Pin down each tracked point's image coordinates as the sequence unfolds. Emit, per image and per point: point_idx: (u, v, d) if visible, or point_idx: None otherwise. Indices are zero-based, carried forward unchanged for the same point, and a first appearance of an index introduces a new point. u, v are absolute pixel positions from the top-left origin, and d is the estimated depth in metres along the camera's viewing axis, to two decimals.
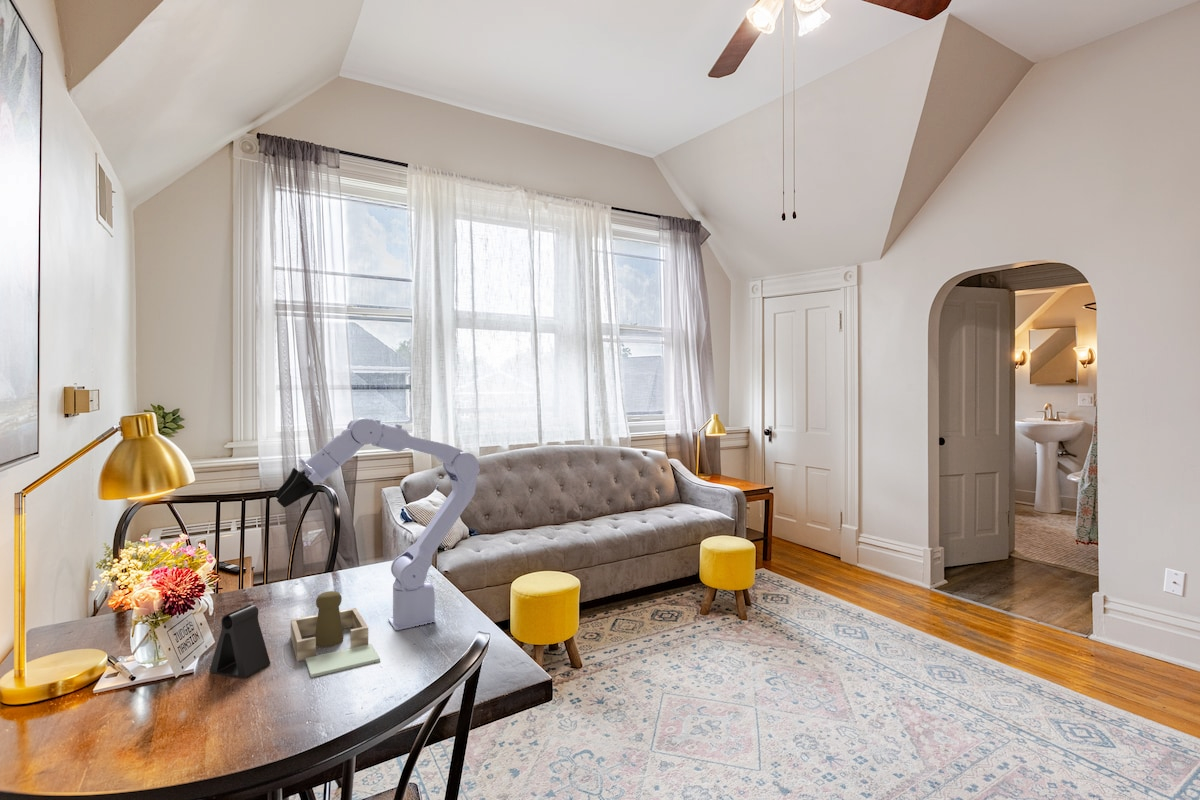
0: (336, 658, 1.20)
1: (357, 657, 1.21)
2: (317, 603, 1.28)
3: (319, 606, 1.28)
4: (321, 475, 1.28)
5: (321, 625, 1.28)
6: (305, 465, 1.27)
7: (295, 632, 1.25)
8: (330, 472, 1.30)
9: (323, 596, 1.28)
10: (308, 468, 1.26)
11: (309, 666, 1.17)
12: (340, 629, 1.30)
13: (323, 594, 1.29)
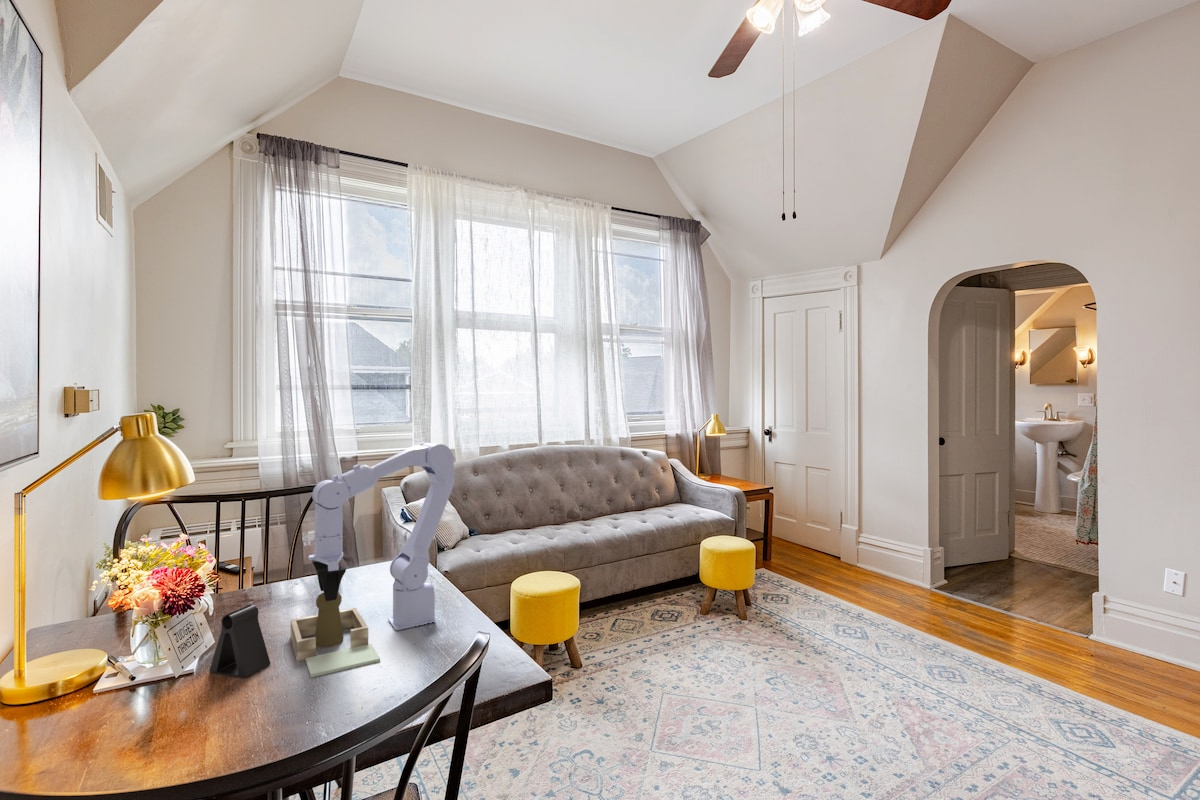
0: (336, 658, 1.20)
1: (357, 657, 1.21)
2: (317, 603, 1.28)
3: (319, 606, 1.28)
4: (336, 554, 1.28)
5: (321, 625, 1.28)
6: (317, 559, 1.27)
7: (295, 632, 1.25)
8: (340, 545, 1.30)
9: (323, 596, 1.28)
10: (321, 561, 1.26)
11: (309, 666, 1.17)
12: (340, 629, 1.30)
13: (323, 594, 1.29)
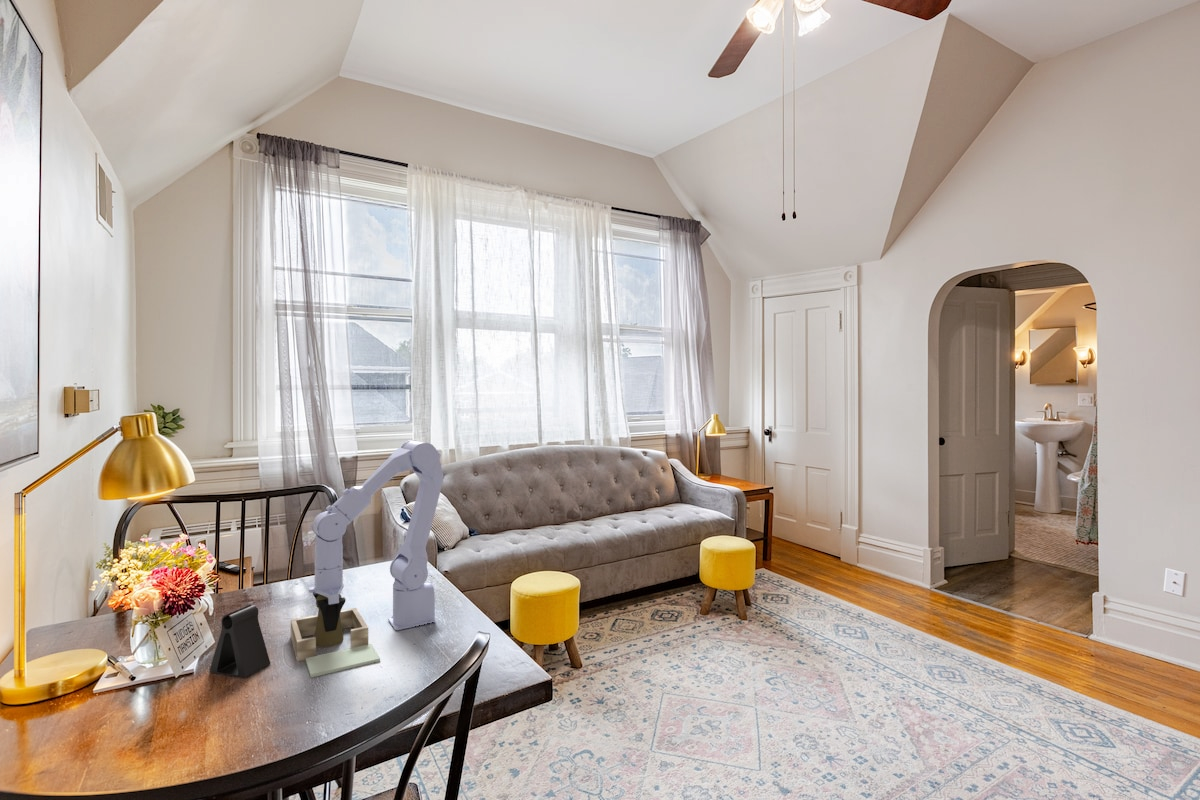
0: (336, 658, 1.20)
1: (357, 657, 1.21)
2: None
3: None
4: (336, 586, 1.28)
5: (321, 625, 1.28)
6: (317, 591, 1.27)
7: (295, 632, 1.25)
8: (340, 576, 1.30)
9: (322, 596, 1.28)
10: (321, 593, 1.26)
11: (309, 666, 1.17)
12: (340, 629, 1.30)
13: None
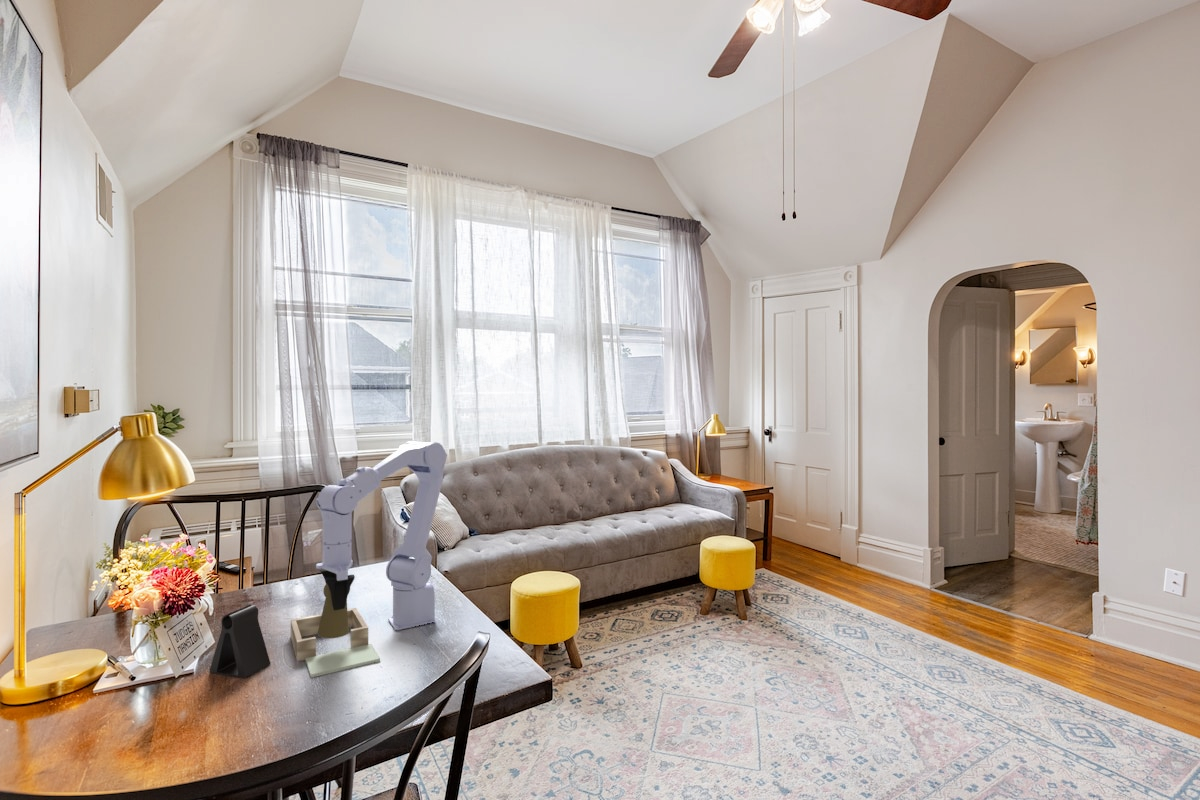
0: (336, 658, 1.20)
1: (357, 657, 1.21)
2: (325, 591, 1.22)
3: (326, 594, 1.22)
4: (345, 562, 1.22)
5: (327, 615, 1.22)
6: (325, 568, 1.21)
7: (295, 632, 1.25)
8: (349, 552, 1.24)
9: None
10: (329, 569, 1.20)
11: (309, 666, 1.17)
12: (346, 620, 1.24)
13: None
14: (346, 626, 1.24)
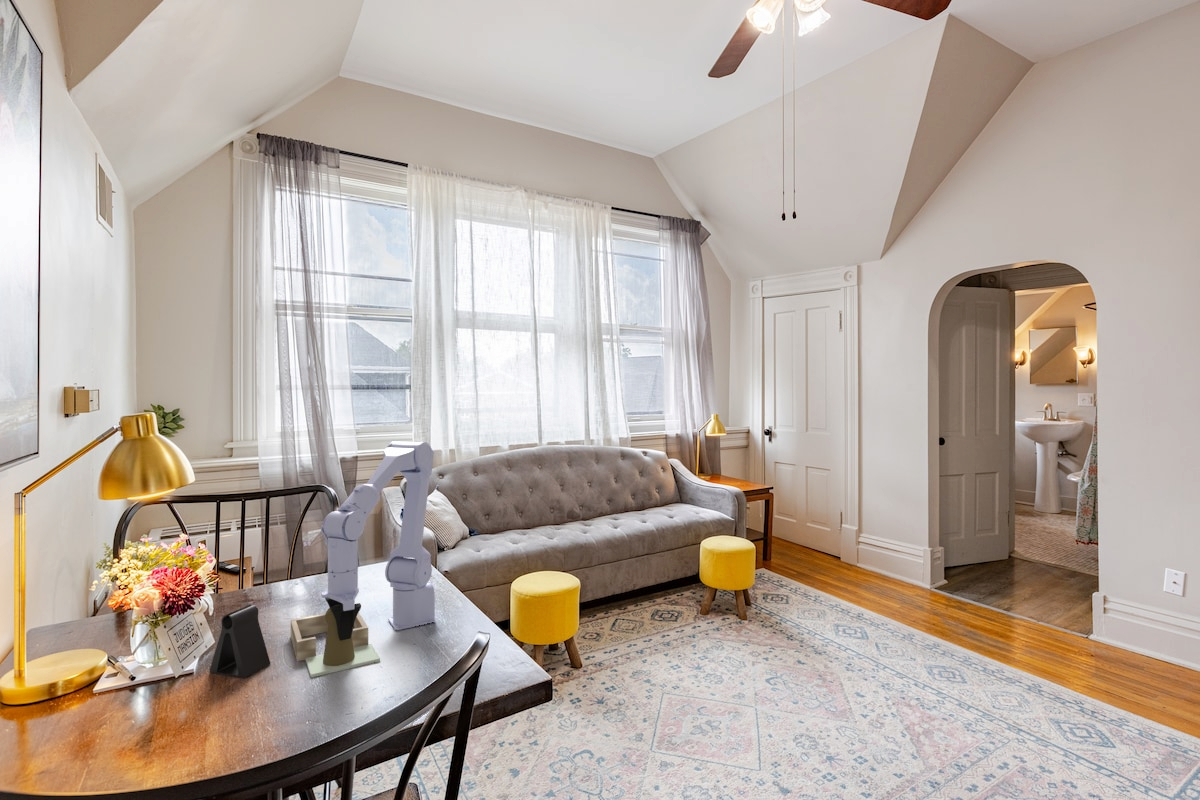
0: None
1: (357, 657, 1.21)
2: (326, 618, 1.18)
3: (328, 621, 1.18)
4: (351, 590, 1.19)
5: (331, 642, 1.18)
6: (330, 597, 1.17)
7: (295, 632, 1.25)
8: (355, 580, 1.20)
9: None
10: (335, 599, 1.16)
11: (309, 666, 1.17)
12: (351, 646, 1.20)
13: None
14: (352, 651, 1.20)
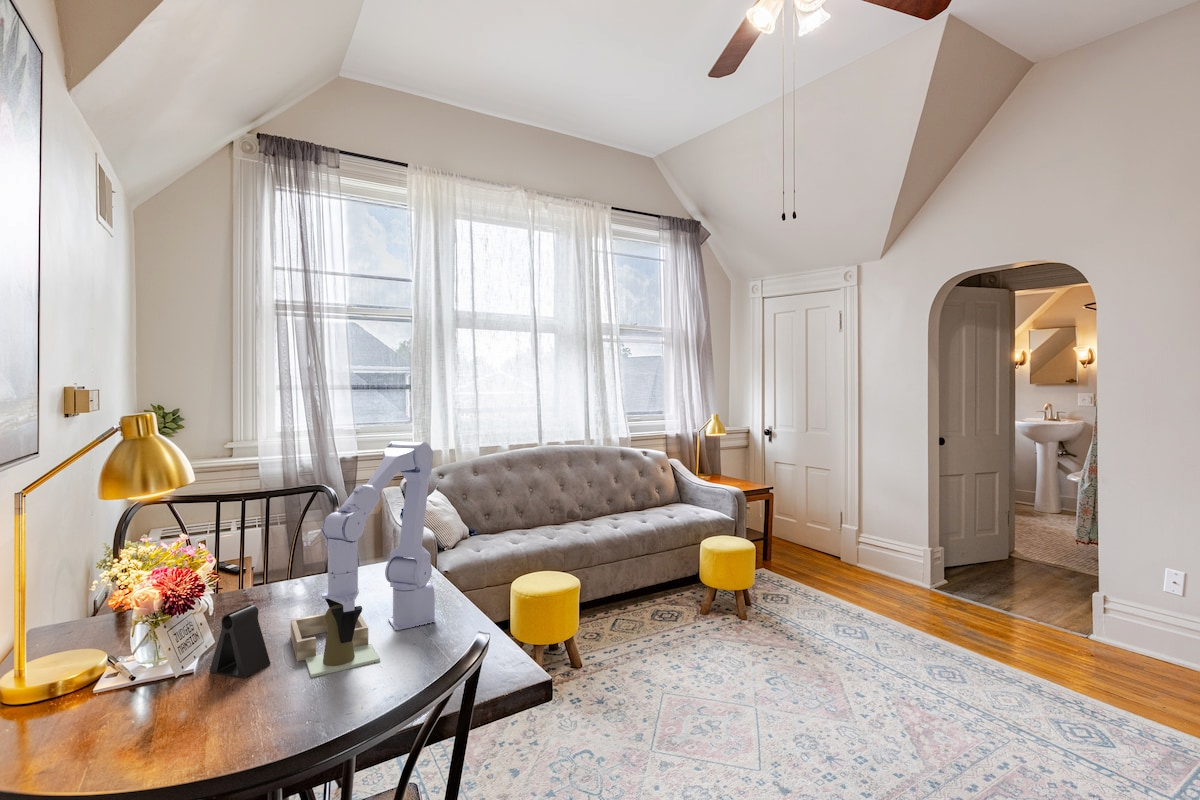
0: None
1: (357, 657, 1.21)
2: (326, 618, 1.18)
3: (328, 621, 1.18)
4: (351, 591, 1.19)
5: (331, 642, 1.18)
6: (330, 598, 1.17)
7: (295, 632, 1.25)
8: (355, 581, 1.20)
9: None
10: (335, 600, 1.16)
11: (309, 666, 1.17)
12: (351, 646, 1.20)
13: (333, 608, 1.19)
14: (352, 651, 1.20)
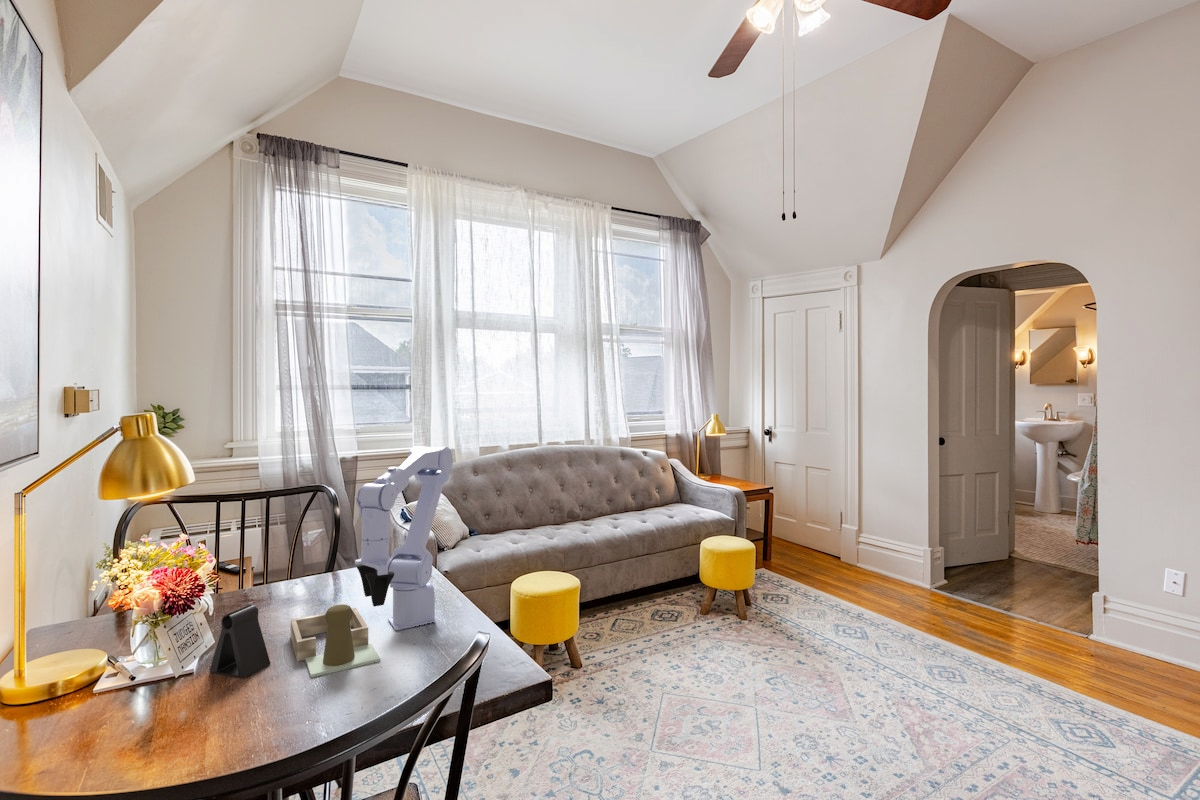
0: None
1: (357, 657, 1.21)
2: (326, 618, 1.18)
3: (328, 621, 1.18)
4: (383, 558, 1.26)
5: (331, 642, 1.18)
6: (364, 563, 1.24)
7: (295, 632, 1.25)
8: (387, 549, 1.27)
9: (332, 610, 1.18)
10: (369, 565, 1.23)
11: (309, 666, 1.17)
12: (351, 646, 1.20)
13: (333, 608, 1.19)
14: (352, 651, 1.20)
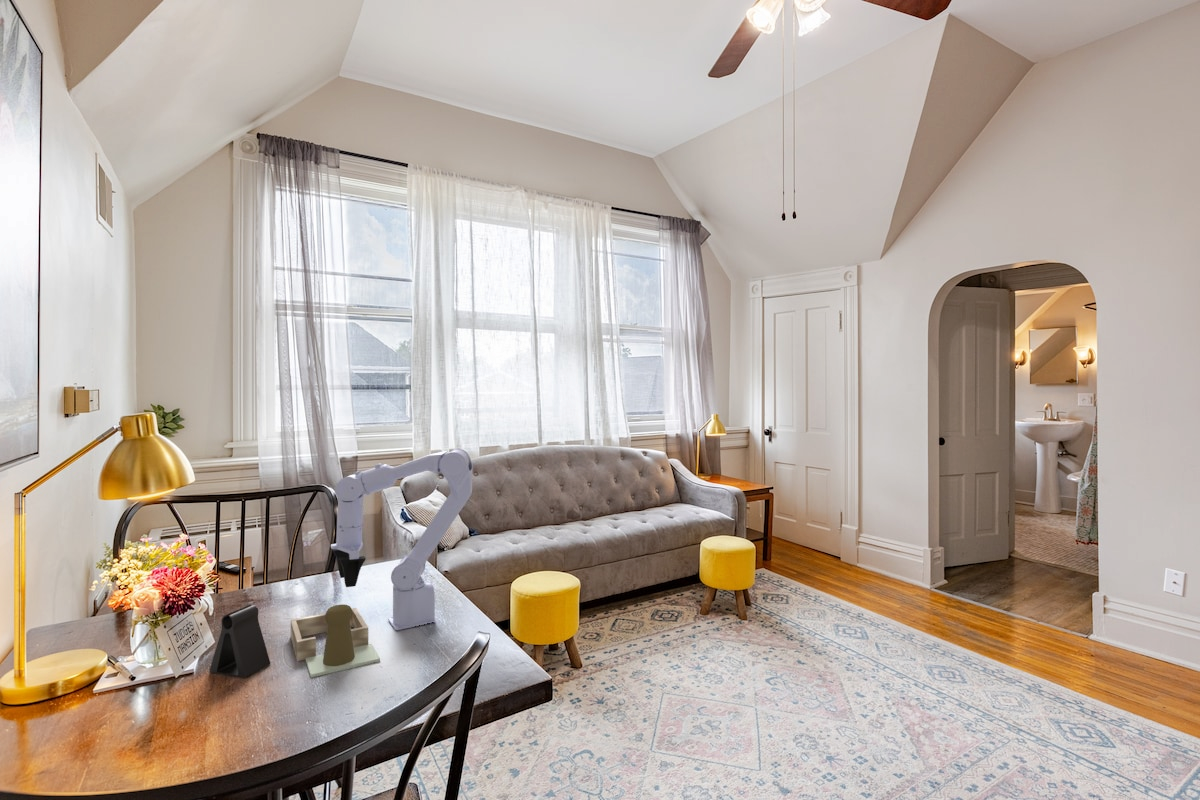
0: None
1: (357, 657, 1.21)
2: (326, 618, 1.18)
3: (328, 621, 1.18)
4: (356, 543, 1.38)
5: (331, 642, 1.18)
6: (338, 548, 1.36)
7: (295, 632, 1.25)
8: (360, 535, 1.39)
9: (332, 610, 1.18)
10: (343, 549, 1.35)
11: (309, 666, 1.17)
12: (351, 646, 1.20)
13: (333, 608, 1.19)
14: (352, 651, 1.20)
